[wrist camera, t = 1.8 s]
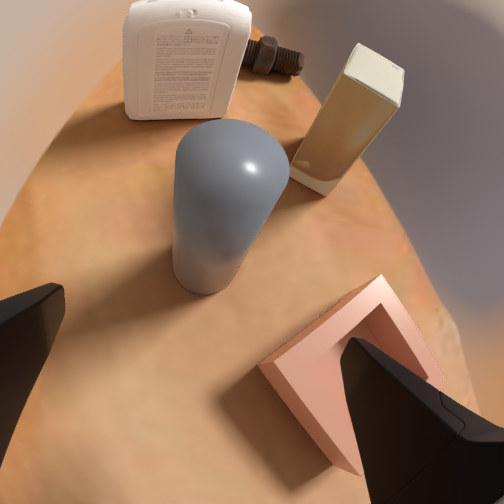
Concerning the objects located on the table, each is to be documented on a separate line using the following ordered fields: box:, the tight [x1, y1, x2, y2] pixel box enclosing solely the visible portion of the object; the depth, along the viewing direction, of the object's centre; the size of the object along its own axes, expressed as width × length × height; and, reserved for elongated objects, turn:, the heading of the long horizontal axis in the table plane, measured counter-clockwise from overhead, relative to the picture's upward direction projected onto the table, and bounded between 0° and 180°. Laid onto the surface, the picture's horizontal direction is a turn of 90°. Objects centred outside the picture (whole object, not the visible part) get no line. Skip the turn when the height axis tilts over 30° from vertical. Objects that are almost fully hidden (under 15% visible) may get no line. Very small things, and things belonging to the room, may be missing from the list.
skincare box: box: [289, 43, 405, 197], centre depth 24 cm, size 6×4×12 cm
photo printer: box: [123, 0, 252, 120], centre depth 23 cm, size 10×4×12 cm, turn 101°
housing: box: [257, 274, 447, 477], centre depth 20 cm, size 10×10×4 cm
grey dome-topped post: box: [172, 119, 290, 295], centre depth 18 cm, size 5×5×12 cm
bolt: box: [242, 36, 304, 76], centre depth 31 cm, size 6×5×15 cm
